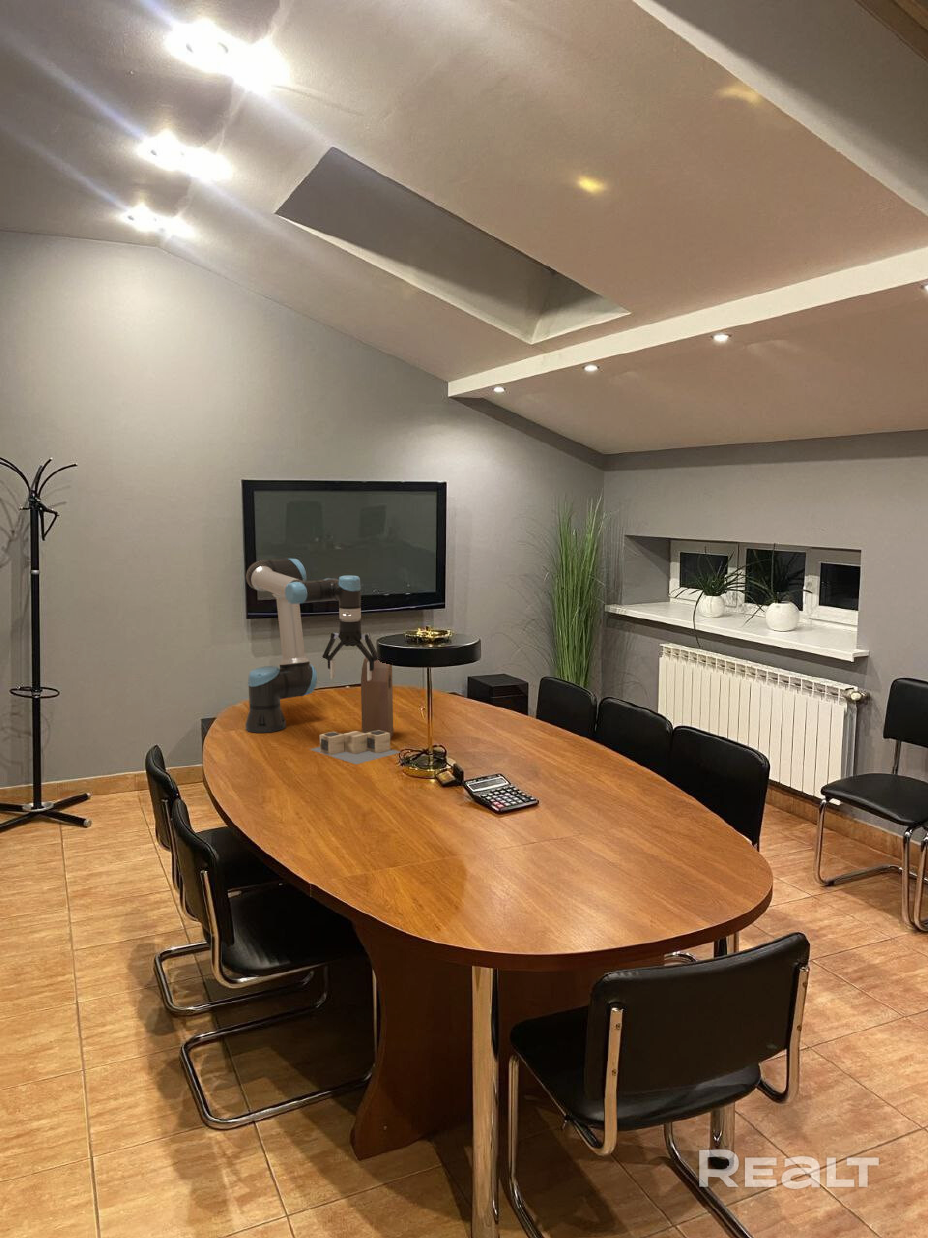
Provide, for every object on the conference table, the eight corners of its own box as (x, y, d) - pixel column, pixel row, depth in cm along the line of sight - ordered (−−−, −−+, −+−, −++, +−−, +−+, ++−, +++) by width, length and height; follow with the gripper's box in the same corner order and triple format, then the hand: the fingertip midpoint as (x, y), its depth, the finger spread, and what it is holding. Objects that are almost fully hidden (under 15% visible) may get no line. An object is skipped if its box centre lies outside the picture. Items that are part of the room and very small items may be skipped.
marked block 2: (365, 750, 324) (364, 732, 324) (379, 746, 329) (378, 729, 328) (376, 753, 320) (376, 735, 319) (390, 749, 325) (389, 732, 324)
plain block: (343, 750, 324) (342, 734, 323) (356, 747, 328) (356, 730, 327) (353, 754, 320) (353, 737, 319) (367, 750, 324) (367, 733, 323)
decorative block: (393, 735, 346) (392, 656, 342) (388, 742, 336) (387, 661, 332) (367, 735, 347) (365, 655, 343) (362, 742, 337) (360, 660, 333)
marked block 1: (319, 751, 323) (318, 734, 322) (333, 748, 327) (333, 730, 326) (329, 755, 319) (329, 737, 318) (344, 751, 323) (343, 733, 322)
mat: (309, 751, 326) (309, 749, 326) (354, 739, 340) (354, 738, 340) (356, 766, 308) (356, 764, 308) (401, 753, 322) (401, 752, 322)
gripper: (312, 620, 325) (313, 679, 328) (381, 622, 321) (382, 682, 324) (320, 617, 332) (321, 675, 336) (387, 619, 328) (387, 678, 331)
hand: (351, 679), depth 330 cm, fingers open, 13 cm apart
